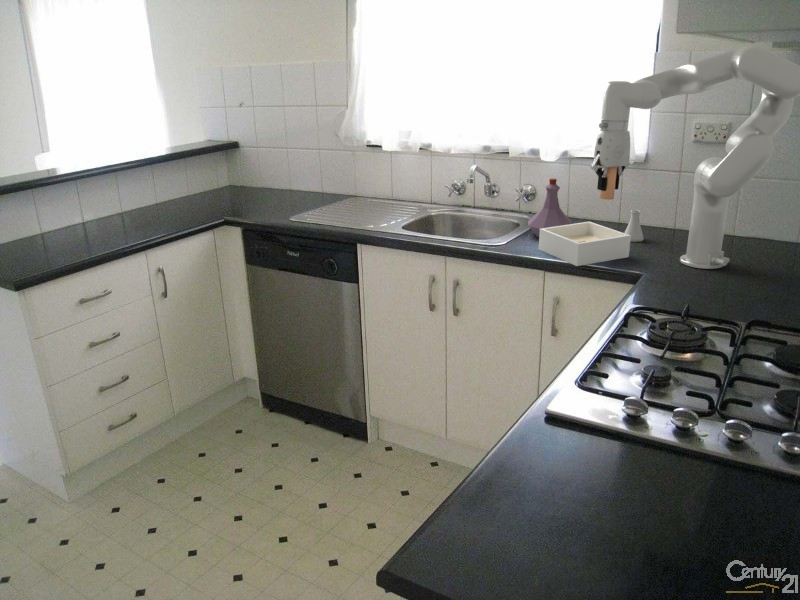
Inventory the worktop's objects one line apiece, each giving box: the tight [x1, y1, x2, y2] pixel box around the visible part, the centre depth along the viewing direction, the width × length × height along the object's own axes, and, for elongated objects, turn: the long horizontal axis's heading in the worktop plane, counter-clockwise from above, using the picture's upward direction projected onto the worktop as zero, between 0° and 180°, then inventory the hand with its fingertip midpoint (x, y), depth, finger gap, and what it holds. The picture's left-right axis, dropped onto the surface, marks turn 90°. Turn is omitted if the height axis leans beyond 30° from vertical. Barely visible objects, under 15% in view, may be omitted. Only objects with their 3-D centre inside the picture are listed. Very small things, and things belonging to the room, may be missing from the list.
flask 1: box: [527, 178, 573, 238], centre depth 234 cm, size 16×16×20 cm
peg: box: [599, 167, 617, 201], centre depth 200 cm, size 4×4×10 cm
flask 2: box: [624, 209, 645, 243], centre depth 229 cm, size 7×7×10 cm
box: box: [538, 221, 631, 267], centre depth 216 cm, size 20×20×7 cm
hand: (607, 188), depth 201 cm, fingers closed on peg, 4 cm apart
